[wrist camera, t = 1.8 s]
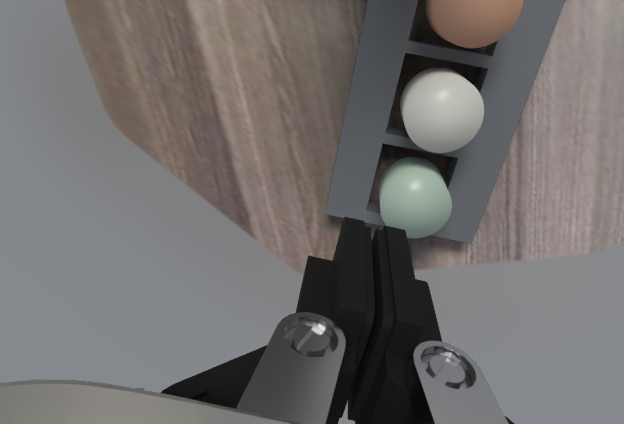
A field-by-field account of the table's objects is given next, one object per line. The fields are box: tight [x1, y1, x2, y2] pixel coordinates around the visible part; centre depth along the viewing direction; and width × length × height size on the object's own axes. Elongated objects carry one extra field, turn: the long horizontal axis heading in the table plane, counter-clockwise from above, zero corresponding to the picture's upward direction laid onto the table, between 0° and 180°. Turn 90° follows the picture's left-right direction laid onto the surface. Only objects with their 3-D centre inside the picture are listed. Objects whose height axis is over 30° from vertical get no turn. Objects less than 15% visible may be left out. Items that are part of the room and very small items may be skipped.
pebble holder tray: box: [325, 0, 565, 244], centre depth 37 cm, size 14×24×2 cm, turn 171°
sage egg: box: [379, 157, 452, 238], centre depth 37 cm, size 6×6×4 cm
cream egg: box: [400, 67, 484, 153], centre depth 34 cm, size 6×6×4 cm
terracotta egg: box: [426, 0, 524, 48], centre depth 30 cm, size 6×6×4 cm
